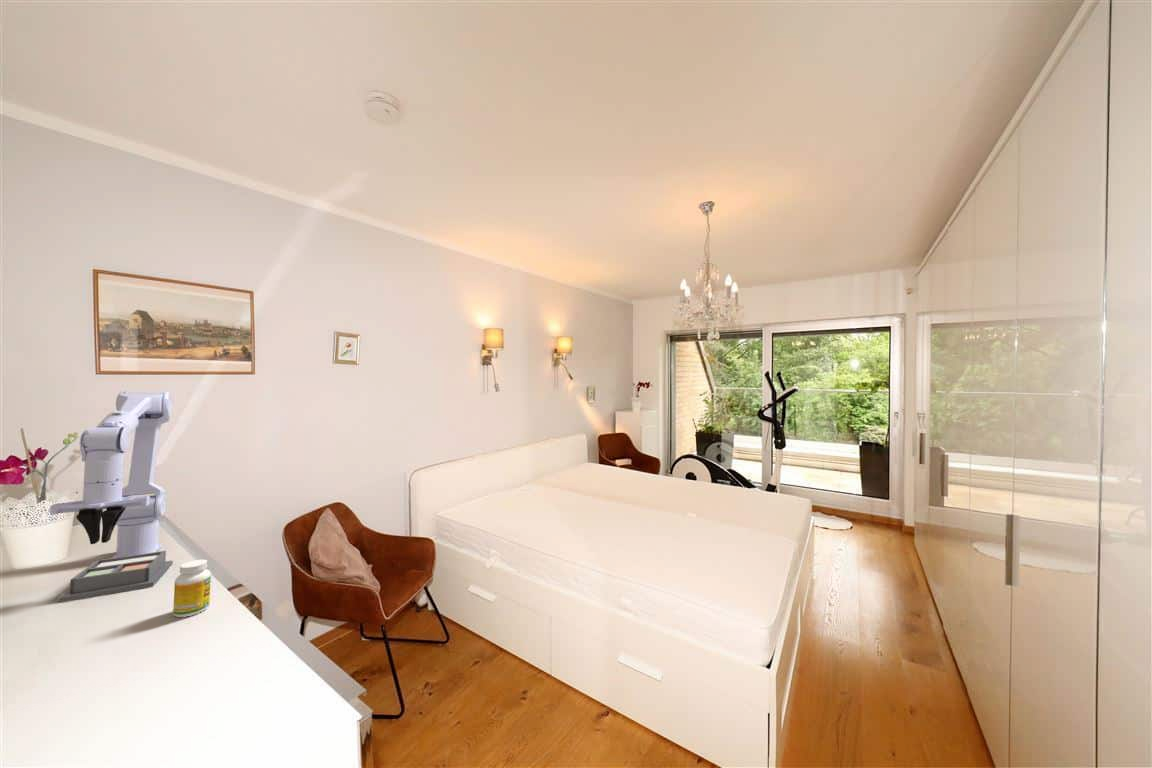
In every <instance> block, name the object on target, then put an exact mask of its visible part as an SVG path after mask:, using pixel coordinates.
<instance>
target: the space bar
mask: <svg viewBox="0 0 1152 768" xmlns="http://www.w3.org/2000/svg"><path fill="white" fill-rule="evenodd" d="M157 556H158V555H155V556H148V557H141V558H134V559H127V560H120V561H112V562H105V563H101V564H99V565H98V566H97V567H102V566H109V565H116V564H123V563H130V562H137V561H144V560H151V559H155V558H156V557H157Z"/></svg>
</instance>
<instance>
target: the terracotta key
mask: <svg viewBox="0 0 1152 768" xmlns="http://www.w3.org/2000/svg"><path fill="white" fill-rule="evenodd" d="M149 564H150V563H148V564H141V565H134V566H127V567H125V568H124V569H123V570H122V571H127V570H133V569H140V568H146V567H147V566H148V565H149Z"/></svg>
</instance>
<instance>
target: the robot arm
mask: <svg viewBox="0 0 1152 768" xmlns="http://www.w3.org/2000/svg"><path fill="white" fill-rule="evenodd" d="M115 408H116V410H114V411H112V412H110V413H108V414H107V415H106V416H105V417H104V418H103V419H102V420H101V422H99V423H98V424H97V426H96V427H90V428H89V429H85V430H83V431H82V433H81V436H80V438H79V450H80V451H81V461H82V462H83V463H84V467H83V468H84V469H83V472H84V473H83V487H82V489H83V491H82V500H77V501H70V502H61V503H60V502H59V503H54V504H51V505H50V506H49V507H50V508H49V515H50V516H52V515H59V514H65V513H76V512H78V514H76V520H77V521H78V522H79V523H80V524H81V526H83V528H84V530H85V531H86V534H87V537H88V539H89V544H90V545H96V544H97V543H99V542H100V540H101V544H105V543H108V542H109V541H110V540H111V538H112V534H113V531H114V530H115V526H117V533H116V551H115V555H114V556H112V557H111V558H116V557H124V556H131V555H138V554H146V553H153V552H158V551H159V549H161V548H162V547H163V545H164V543H159V537H160V535H159V534H160V522H159V521H158V519H159V518H161V517H162V516H163V515H164V514H165V512H166V507H167V490H166V488H164V487H162V486H160V485H158V484H156V483H154V480H155V469H156V461H157V455H158V445H159V439H160V438H159V437H160V431H161V428H162V425H163V424H166V423H169V422H170V420H171V417H172V411H173V396H172V394H171V393H170V391H127V390H122V391H120V392H119V393H118V394H117V396H116V399H115ZM134 431H135V433H134ZM133 433H134V439H133V445H132V451H131V452H132V454H131V459H130V462H131V463H130V468H129V475H128V482H127V485H126V486H125V487H123V485H124V484H123V483H124V482H123V481H124V463H125V453H126V452H127V450H128V449H129V446H130V443H131V440H132V434H133ZM101 523H102V524H101ZM101 525H102V532H101ZM100 538H101V539H100Z"/></svg>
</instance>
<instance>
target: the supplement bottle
mask: <svg viewBox="0 0 1152 768" xmlns="http://www.w3.org/2000/svg"><path fill="white" fill-rule="evenodd" d="M207 568H208V560H207V559H194V560H190V561H186V562H184V563H182V564H181V565H180V566H179V575H178V576H176V578H175V580H174V586H173V587H174V588H173V589H174V590H173V593H174V594H173V608H172V610H173V612H172V614H173V616H174V617H175V616H176V617H175V618H180V617H182V618H188V617H187V616H189V617H192V615H193V616H196V615H198V613H199V614H201V613H203V612H205V611H206V610H207V609H209V607H210V601H211V600H210V599H211V583H212V582H211V579H212V573H211V571H210V569H209V570H208V569H207ZM204 610H205V611H204ZM200 612H201V613H200ZM195 614H196V615H195Z"/></svg>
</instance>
